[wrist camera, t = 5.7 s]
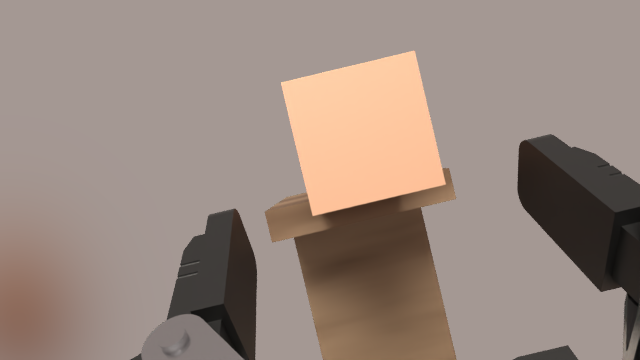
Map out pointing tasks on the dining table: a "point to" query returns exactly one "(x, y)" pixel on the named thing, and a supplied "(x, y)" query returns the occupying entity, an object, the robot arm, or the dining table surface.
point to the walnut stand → (370, 276)
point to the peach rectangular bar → (363, 133)
